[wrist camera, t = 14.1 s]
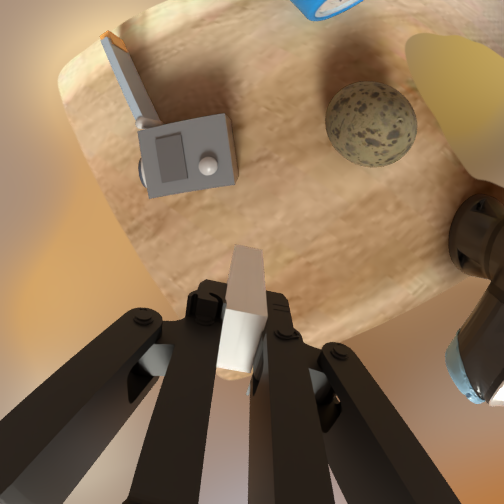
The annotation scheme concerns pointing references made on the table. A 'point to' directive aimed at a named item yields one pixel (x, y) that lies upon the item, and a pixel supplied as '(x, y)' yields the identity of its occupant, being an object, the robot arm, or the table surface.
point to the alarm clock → (323, 8)
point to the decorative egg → (371, 124)
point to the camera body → (188, 156)
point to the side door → (130, 82)
